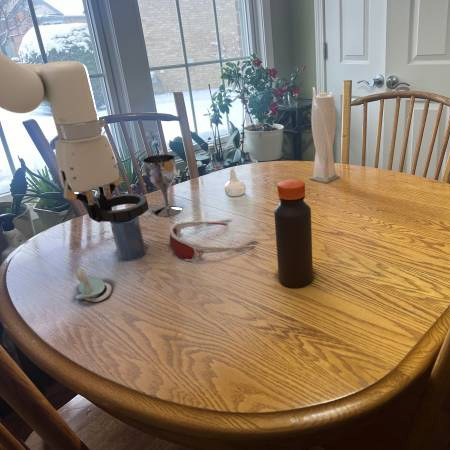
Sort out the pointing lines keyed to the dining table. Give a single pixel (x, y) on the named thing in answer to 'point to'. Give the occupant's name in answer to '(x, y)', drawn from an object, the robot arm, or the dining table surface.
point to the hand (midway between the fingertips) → (102, 218)
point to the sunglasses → (191, 250)
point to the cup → (128, 239)
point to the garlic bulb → (234, 185)
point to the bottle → (293, 235)
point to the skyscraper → (323, 136)
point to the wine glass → (162, 179)
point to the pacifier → (91, 287)
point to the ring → (125, 213)
